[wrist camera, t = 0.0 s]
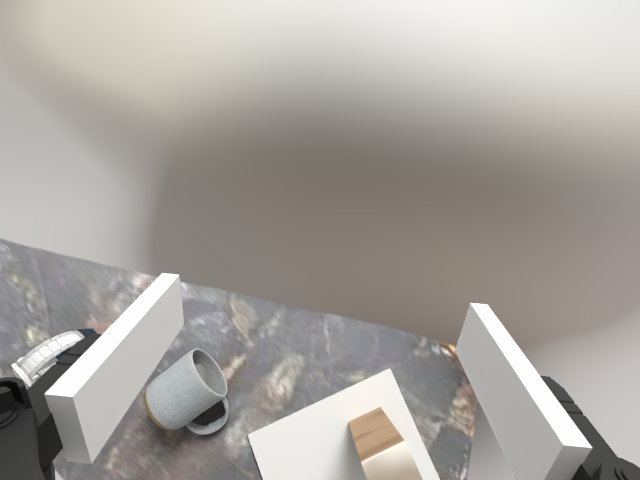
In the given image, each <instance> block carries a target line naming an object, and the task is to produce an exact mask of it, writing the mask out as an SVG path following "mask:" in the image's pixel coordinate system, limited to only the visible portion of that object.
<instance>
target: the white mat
mask: <svg viewBox="0 0 640 480" xmlns="http://www.w3.org/2000/svg"><path fill="white" fill-rule="evenodd" d="M378 407H381V408H382V410H383V411H384V413H385V414H386V415H387V417H388V418H389V420H390V421H391V422H392V424H393V425H394V427H395V428H396V429H397V431H398V432H399V434H400V435H401V436H402V438H403V439H404V441H405V442H406V443H407V445H408V447H409V450H410V452H411V454H412V457H413V459H414V461H415V463H416V466H417V468H418V470H419V473H420V475H421V477H422V479H423V480H440V479H439V477H438V475H437V473H436V470H435V468H434V466H433V464H432V461H431V459H430V457H429V455H428V453H427V450H426V448H425V446H424V444H423V441H422V439H421V437H420V435H419V432H418V430H417V428H416V426H415V423H414V421H413V419H412V417H411V414H410V412H409V410H408V408H407V405H406V403H405V401H404V399H403V397H402V394H401V392H400V390H399V388H398V385H397V383H396V381H395V379H394V376H393V374H392V372H391V370H390V368H389V369H387V370H385V371H383V372H381V373H379V374H376V375H374V376H372V377H370V378H368V379H366V380H364V381H361V382H359V383H357V384H355V385H353V386H351V387H349V388H346V389H344V390H342V391H340V392H338V393H336V394H334V395H331V396H329V397H327V398H325V399H323V400H321V401H319V402H317V403H314V404H312V405H310V406H308V407H306V408H304V409H302V410H299V411H297V412H295V413H293V414H291V415H289V416H287V417H284V418H282V419H280V420H278V421H276V422H274V423H272V424H269V425H267V426H265V427H263V428H261V429H259V430H257V431H255V432H252V433H250V434H248V438H249V441H250V444H251V447H252V449H253V452H254V455H255V458H256V461H257V464H258V467H259V470H260V473H261V475H262V478H263V480H367V477H366V475H365V472H364V470H363V467H362V464H361V461H360V458H359V455H358V452H357V448H356V445H355V442H354V439H353V436H352V433H351V429H350V426H349V423H348V422H349V421H351V420H353V419H355V418H357V417H360V416H362V415H364V414H366V413H368V412H370V411H372V410H374V409H376V408H378Z"/></svg>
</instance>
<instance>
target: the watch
mask: <svg viewBox="0 0 640 480" xmlns="http://www.w3.org/2000/svg"><path fill="white" fill-rule="evenodd" d="M92 333H96V332H95V331H94V330H93V329H79V330H74V331H70V332H66V333H63V334H60V335H57V336H55V337H53V338H51V339H49V340H47V341H45V342H43V343H42V345H43V346H42V345H41V344H40V345H39V346H37V347H36V348H34V349H33V350H32V351H30V352H29V353H28V354H27V355H26V356H25V357H21V358H20V359H18V360H17V361H16V363H13V364H12V368H13V369H14V371H15V372H16V374H17V375H18V376H19V377H20V379H21V380H23V382H24V383H25V384H26V385H27V386H28V387H30V386H31V385H32V384H33V383H35V382H36V381H37V380H38V379H39V378H40V377H41V376H42V375H43V374H44V373H45V372H46V371H47V370H48V369H49V368H50V367H51V366H52V365H51V366H49V367H47V368H45V369H43V370H41V371H39V370H40V369H41V368H42V367H43V366H44V365H45V364H47V363H48V362H49V361H50V360H52V359H53V358H54V357H56V358H57V359H58V360H59V359H60V358H61V357H62V356H63V355H65V353H66V352H67V351H68V350H69V349H70V348H71V347H72V346H73V345H74V344H76V343H77V342H78V341H80V340H82V339H83V338H85V337H87V336H89V335H90V334H92ZM96 334H97V333H96ZM47 346H48V347H49V348H48V347H47ZM52 352H53V353H52ZM43 357H44V358H43ZM55 364H56V363H55ZM55 364H53V365H55Z"/></svg>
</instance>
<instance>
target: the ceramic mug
mask: <svg viewBox="0 0 640 480" xmlns="http://www.w3.org/2000/svg"><path fill="white" fill-rule="evenodd" d="M227 391H228V389H227V383H226V379H225V377H224V375H223V373H222V371H221V369H220V367H219V366H218V364H217V363H216V361H215V360H214V359H213V358H212V357H211V356H210V355H209V354H208V353H206V352H205V351H204V350H201V349H198V348H195V349H193V350H191V351H190V352H188V353H187V354H186V355H185V356H183V357H182V358H181V359H179V360H178V361H177V362H176V363H174V364H173V365H172V366H171V367H169V368H168V369H167V370H166V371H164V372H163V373H162V374H160V375H159V376H158V377H156V378H155V379H154V380H153V381H152V382H151V384H150V385H149V386H148V387H147V389H146V391H145V395H144V402H145V408H146V410H147V413H148V415H149V416H150V418H151V419H152V421H153V422H154V423H155V424H156V425H158V426H159V427H160V428H162V429H165V430H168V431H172V430H176V429H179V428H181V427H183V426H184V425H185V426H186V427H187V428H188V429H189V430H190V431H192V432H194V433H196V434H200V435H205V434H210V433H213V432H215V431H217V430H219V429H220V428H221V427H222V426H223V425H224V424H225V423H226V421H227V419H228V415H229V403H228V400H227V398H226V395H227ZM220 400H221V401H222V402H223V405H224V407H225V414H224V415H223V416H222V417H221V418H220V419H218V420H216V421H215V422H213V423H210V424H208V426H202V425H198V424H197V423H194V422H193V421H192V420H193V419H194V418H196V417H197V416H198V415H200V414H201V413H203V412H204V411H206V410H207V409H209V408H210V407H211V406H213V405H214V404H216V403H217V402H219V401H220Z"/></svg>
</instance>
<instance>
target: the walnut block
mask: <svg viewBox="0 0 640 480" xmlns="http://www.w3.org/2000/svg"><path fill="white" fill-rule="evenodd" d="M348 423H349V426H350V429H351V433H352V436H353V439H354V442H355V445H356V448H357V452H358V455H359V458H360V461H361V464H362V467H363V470H364V472H365V475H366V477H367V480H423V479H422V477H421V475H420V473H419V470H418V468H417V466H416V463H415V461H414V459H413V457H412V454H411V452H410V450H409V447H408V445H407V443H406V442H405V441H404V439H403V438H402V436H401V435H400V434H399V432H398V431H397V429H396V428H395V427H394V425H393V424H392V422H391V421H390V420H389V418H388V417H387V415H386V414H385V413H384V411H383V410H382V408H381V407H378V408H376V409H374V410H372V411H370V412H368V413H366V414H364V415H362V416H360V417H357V418H355V419H353V420H351V421H349V422H348Z"/></svg>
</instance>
